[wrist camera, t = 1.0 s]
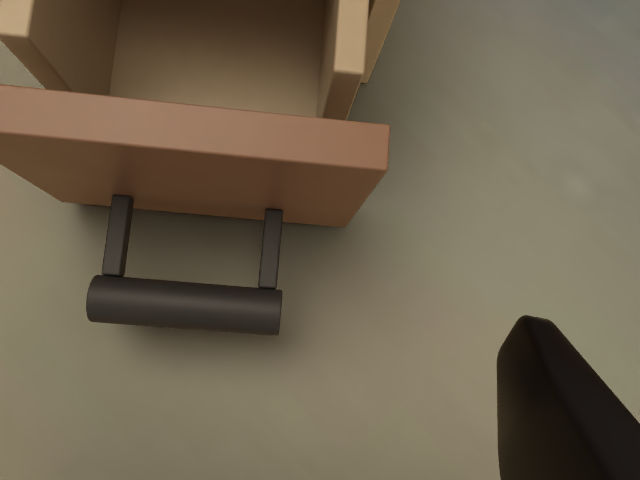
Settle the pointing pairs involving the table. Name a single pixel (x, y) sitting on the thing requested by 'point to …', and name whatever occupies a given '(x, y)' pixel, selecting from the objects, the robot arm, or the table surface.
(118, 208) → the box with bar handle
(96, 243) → the table surface
